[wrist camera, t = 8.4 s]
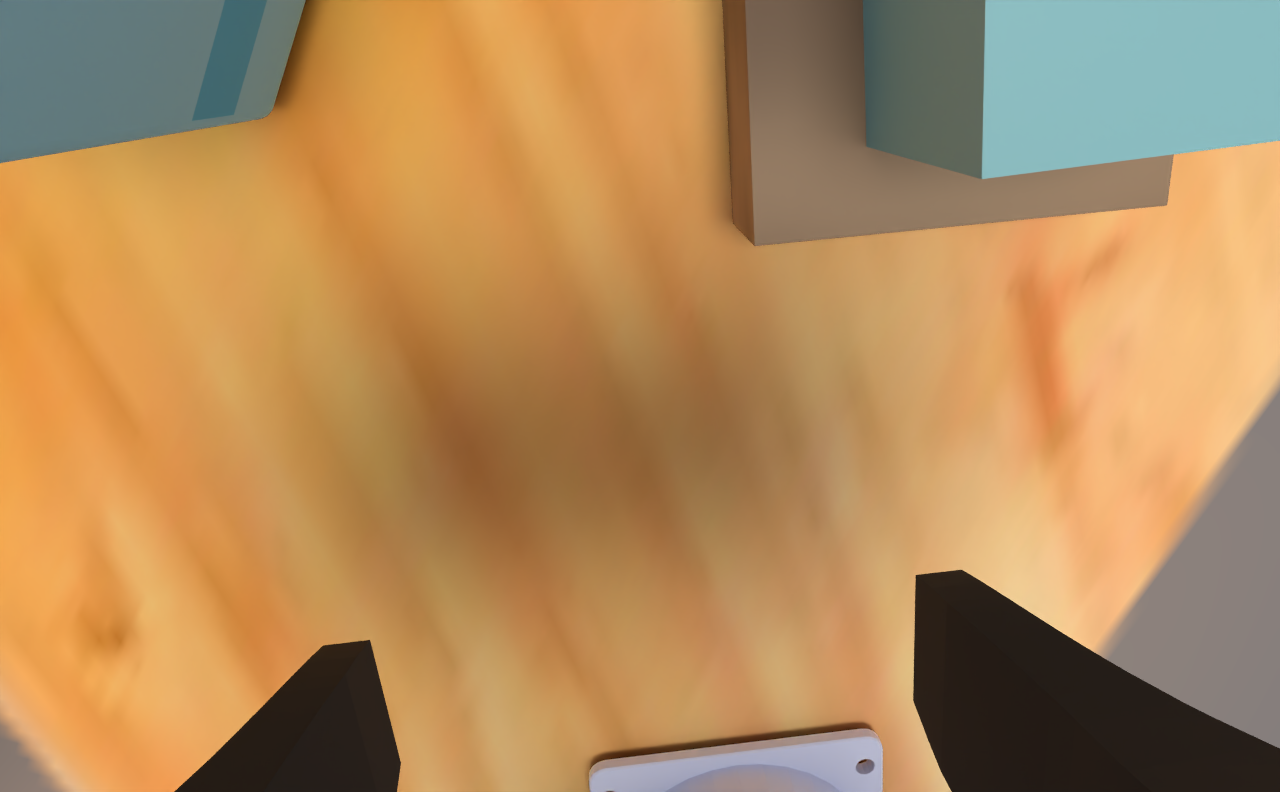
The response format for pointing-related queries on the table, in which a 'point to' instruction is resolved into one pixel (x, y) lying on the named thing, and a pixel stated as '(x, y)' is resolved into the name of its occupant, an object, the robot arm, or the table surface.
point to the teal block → (1067, 80)
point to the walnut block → (836, 143)
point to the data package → (135, 69)
